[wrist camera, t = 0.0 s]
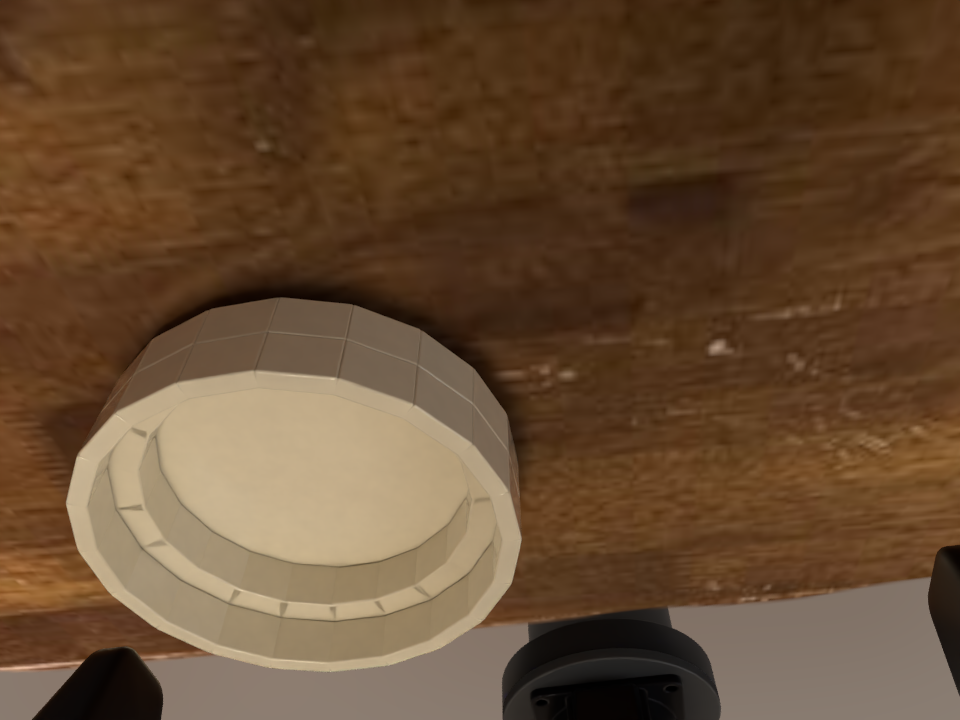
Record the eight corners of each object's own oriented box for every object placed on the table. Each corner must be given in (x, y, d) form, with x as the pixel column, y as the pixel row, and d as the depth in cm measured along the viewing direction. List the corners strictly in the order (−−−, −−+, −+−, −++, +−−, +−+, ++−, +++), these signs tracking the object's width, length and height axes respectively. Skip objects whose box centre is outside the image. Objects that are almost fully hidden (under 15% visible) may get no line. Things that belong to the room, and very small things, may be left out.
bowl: (541, 554, 32) (549, 648, 28) (208, 596, 33) (179, 690, 30) (472, 252, 24) (470, 335, 20) (39, 326, 25) (-25, 415, 22)
